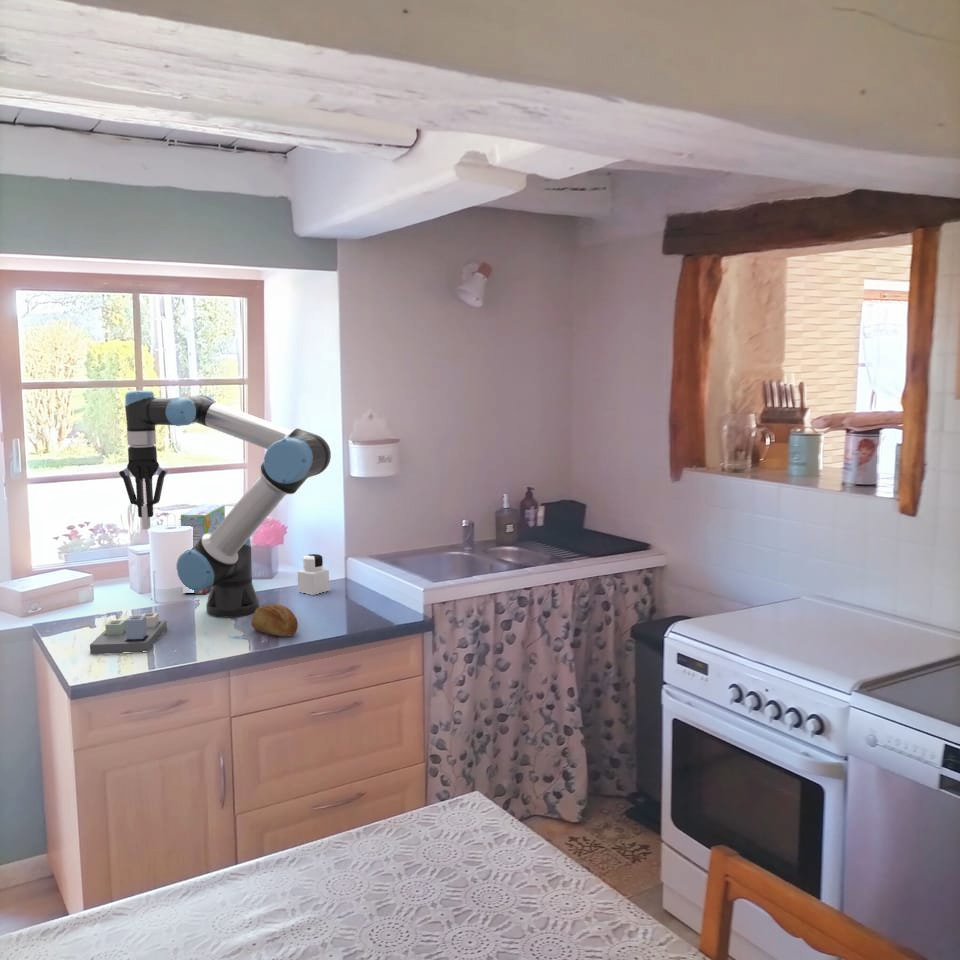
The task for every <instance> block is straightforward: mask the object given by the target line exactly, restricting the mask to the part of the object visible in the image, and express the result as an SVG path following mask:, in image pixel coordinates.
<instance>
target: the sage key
mask: <svg viewBox="0 0 960 960" xmlns="http://www.w3.org/2000/svg"><path fill="white" fill-rule="evenodd" d="M125 620H126V619H119V620H118V619H116V620H114V619H113V620H109V621H107V623H106V624H105V625H104V626H105V627H104V628H105V630H106V635H124V633H125V632H126V621H125Z"/></svg>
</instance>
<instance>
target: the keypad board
mask: <svg viewBox="0 0 960 960" xmlns="http://www.w3.org/2000/svg"><path fill="white" fill-rule="evenodd" d="M167 623H168V622H167V619H165V620H163V619H161V620H160V619H159V625H158V626H157V627H151V628H147V635H146V636H145V637H144V638H143V639H127V638H126V632H125V633H124V635H106V629H105V630H103V632H102V633H100V634H99V635H98V637H96V638H95V639H94V640H93V641H92V642H91V643H90V644H89V652H90V654H89V655H105V653H113V654H124V653H123V652H143V651H148V650H149V649H150V650H151V648H152V647H153V646H154V645H155V644H156V643H157V641H158V640H159V639H160V638H161V637H162V635H163V634H164V633H165V632H166V631H167V630H168V626H167ZM165 630H166V631H165ZM164 631H165V632H164ZM163 632H164V633H163ZM162 633H163V634H162ZM160 636H161V637H160ZM159 637H160V638H159ZM158 638H159V639H158ZM155 642H156V643H155ZM154 643H155V644H154ZM153 644H154V645H153ZM152 645H153V646H152ZM150 650H149V651H150ZM149 651H148V652H149Z"/></svg>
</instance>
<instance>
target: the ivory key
mask: <svg viewBox="0 0 960 960" xmlns="http://www.w3.org/2000/svg"><path fill="white" fill-rule="evenodd" d="M159 614H160V613H159V612H150V613H149V612H148V613H147V612H146V613H142V614H141V615H140V616H146V627H147V628H151V627H157V626H158V625H159V620H160V617H159V616H160V615H159Z"/></svg>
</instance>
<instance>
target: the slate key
mask: <svg viewBox="0 0 960 960" xmlns="http://www.w3.org/2000/svg"><path fill="white" fill-rule="evenodd" d="M124 620H125V621H126V638H127V639H143V638H144V637H145V636H146V635H147V627H146V616H141V615H130V616H129V615H128V617H127V619H124Z"/></svg>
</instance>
